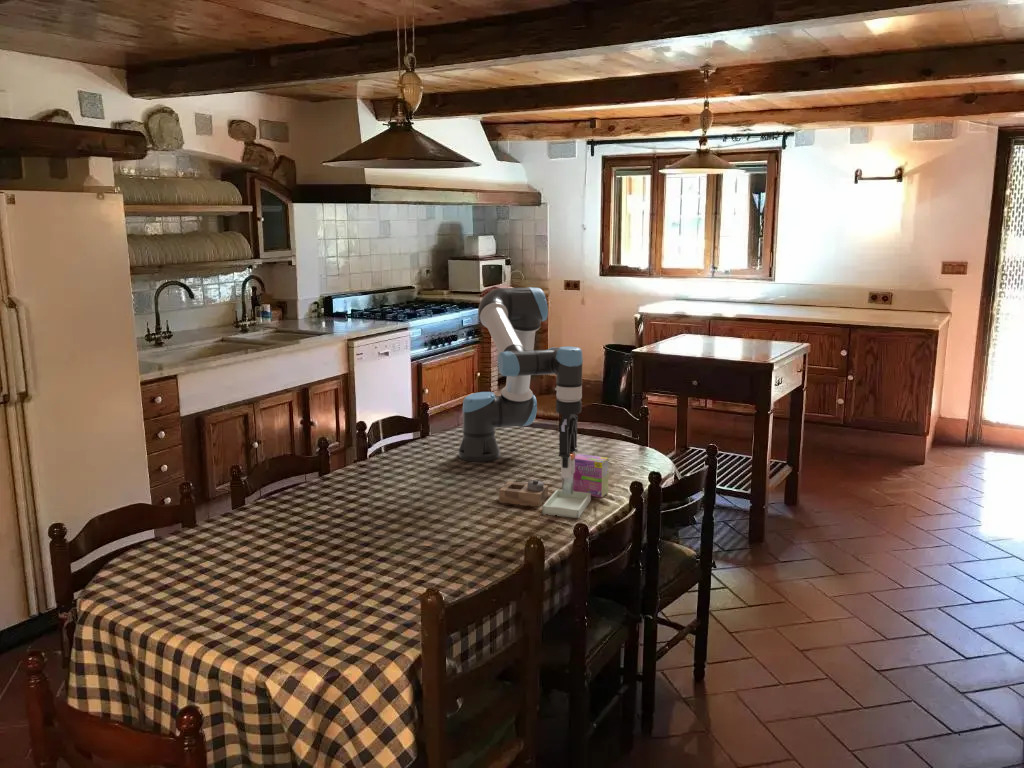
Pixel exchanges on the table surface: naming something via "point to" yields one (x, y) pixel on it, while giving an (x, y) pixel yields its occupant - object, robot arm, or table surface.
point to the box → (591, 475)
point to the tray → (566, 504)
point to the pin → (569, 479)
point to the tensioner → (524, 493)
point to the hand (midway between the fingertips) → (567, 474)
